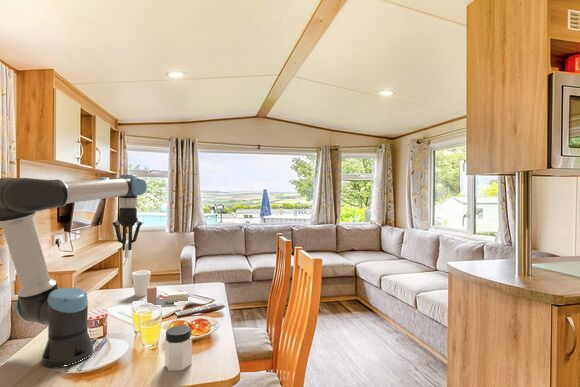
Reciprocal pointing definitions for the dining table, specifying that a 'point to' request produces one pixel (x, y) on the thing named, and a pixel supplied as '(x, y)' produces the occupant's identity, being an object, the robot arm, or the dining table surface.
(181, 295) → the cream pillar
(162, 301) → the mat
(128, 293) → the dining table surface
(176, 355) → the jar
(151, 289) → the brick pillar
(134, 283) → the foam cup
